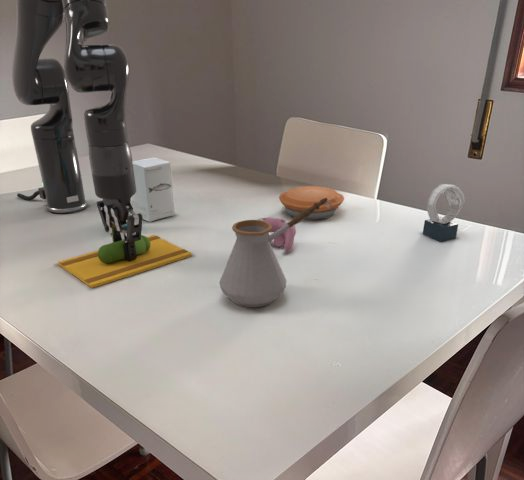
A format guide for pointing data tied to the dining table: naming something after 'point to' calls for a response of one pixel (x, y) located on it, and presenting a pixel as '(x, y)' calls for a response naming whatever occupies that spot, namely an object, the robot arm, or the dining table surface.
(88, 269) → the towel
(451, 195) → the ring sculpture on base
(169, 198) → the white packaging box
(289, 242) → the video game controller
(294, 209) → the pie
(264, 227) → the coffee pot
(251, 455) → the dining table surface
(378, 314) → the dining table surface
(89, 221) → the dining table surface
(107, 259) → the pickle
